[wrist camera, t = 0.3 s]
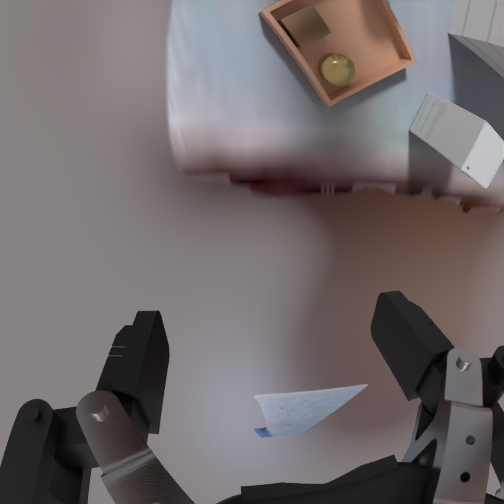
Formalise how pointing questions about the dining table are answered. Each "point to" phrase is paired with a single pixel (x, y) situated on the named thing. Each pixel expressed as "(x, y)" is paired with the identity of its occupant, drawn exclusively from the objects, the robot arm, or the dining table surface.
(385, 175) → the dining table surface
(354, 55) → the tray
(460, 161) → the supplement box
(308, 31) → the walnut block
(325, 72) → the brass disc
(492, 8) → the pizza boxes
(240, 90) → the dining table surface
